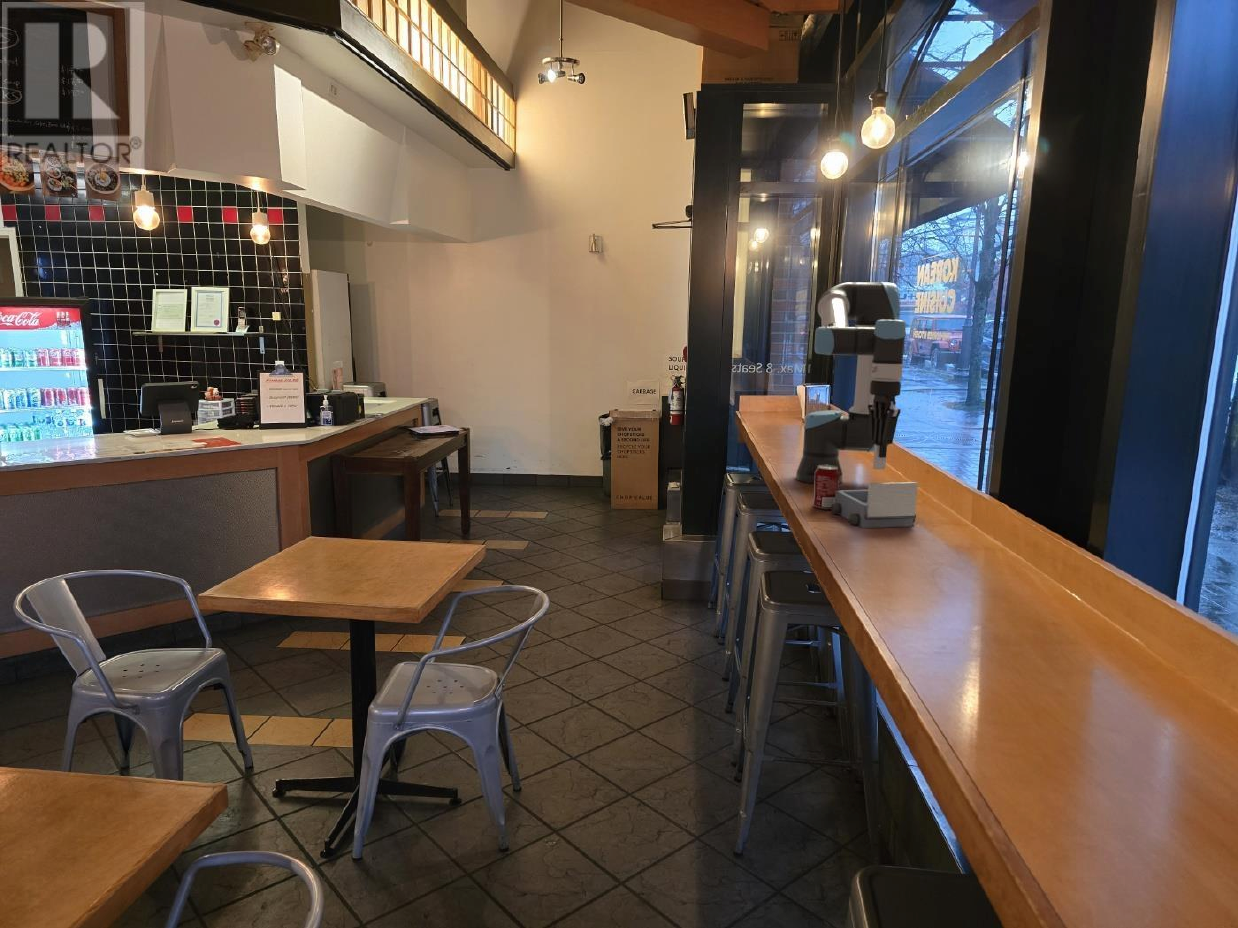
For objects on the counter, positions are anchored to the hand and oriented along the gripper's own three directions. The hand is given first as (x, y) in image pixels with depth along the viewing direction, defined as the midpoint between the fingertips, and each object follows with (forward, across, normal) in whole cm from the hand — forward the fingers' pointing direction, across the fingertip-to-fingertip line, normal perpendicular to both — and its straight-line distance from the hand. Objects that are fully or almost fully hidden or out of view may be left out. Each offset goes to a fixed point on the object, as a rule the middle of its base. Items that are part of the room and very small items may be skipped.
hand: (878, 468), depth 197 cm
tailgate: (+11, +8, 0) cm, 14 cm away
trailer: (+14, -2, 0) cm, 14 cm away
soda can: (+14, -14, -8) cm, 22 cm away
